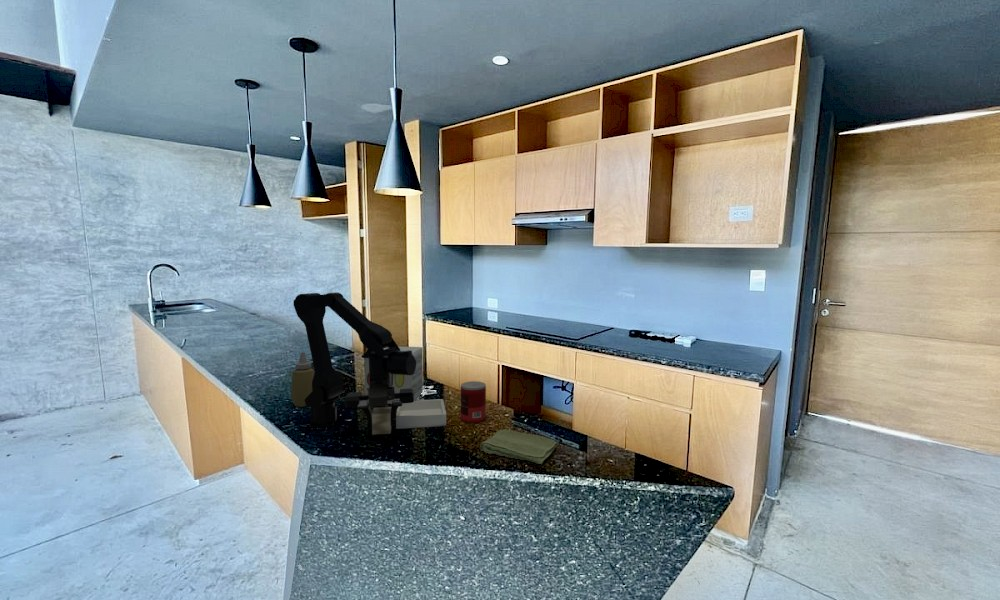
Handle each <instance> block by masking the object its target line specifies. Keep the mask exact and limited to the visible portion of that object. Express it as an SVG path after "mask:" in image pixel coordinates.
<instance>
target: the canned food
mask: <svg viewBox="0 0 1000 600" xmlns="http://www.w3.org/2000/svg"><path fill="white" fill-rule="evenodd" d="M486 397H487V386H486V383H485V382H482V381H477V380H476V381H473V380H472V381H465V382H463V383H461V385H460V419H461V421H463V422H464V423H468V424H477V423H481V422H483V421H484V420H485V419H486V418H485V417H486V409H487V408H486V406H487V405H486V404H487V403H486V401H487V400H486V399H487V398H486Z"/></svg>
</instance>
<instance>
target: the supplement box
mask: <svg viewBox="0 0 1000 600" xmlns="http://www.w3.org/2000/svg"><path fill="white" fill-rule="evenodd" d="M398 347H399V348H400V351H408V350H409V351H412V355H413V356H414V357H415V361H416V369H415V372H414V374H413V375H394V374H391V373H390V387H394V389H395V393H400V389H410V388H412V389H413V390H414V401H415V400H416V399H417V398H418V397H419V396H420V395H421V393H422V392H423V386H424V385H423V380H424V379H423V377H424V375H423V350H424V349H423V347H422V346H401V345H400V346H399V345H398ZM385 349H388V347H387V348H384V350H385ZM369 386H370V383H369V358H364V395H368V390H369ZM421 396H422V395H421ZM421 396H420V397H421ZM420 397H419V398H420ZM419 398H418V399H419ZM418 399H417V400H418ZM387 405H392V400H391V401H388V404H387Z"/></svg>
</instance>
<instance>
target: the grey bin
mask: <svg viewBox="0 0 1000 600" xmlns="http://www.w3.org/2000/svg"><path fill="white" fill-rule="evenodd" d="M446 426H447V411H446V406H445V402H444V399H442V398H440V399H438V398H437V399H419V400H418V399H417V400H416V401H414V402H413V403H402V406H399V407H398V408H397V411H396V413H395V429H399V430H400V429H414V428H417V429H418V428H431V427H446Z"/></svg>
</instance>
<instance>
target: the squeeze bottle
mask: <svg viewBox="0 0 1000 600" xmlns="http://www.w3.org/2000/svg"><path fill="white" fill-rule="evenodd" d="M314 374H315V369H314V368H312V365H311V362H310V361H308V360H307V355H306V353H305V352H304V351H303V352H302V351H301V352H300V356H299V360H298V362H296V363H295V369H294V370H293V371H292V375H291V376H292V377H291V386H290V397H291V400H292V403H293V405H294V407H297V408H303V407H307V406H306V404H305V399H306V398H307V396H308V395H309V394H310V393H311V392H312V380H313V377H314Z"/></svg>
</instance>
